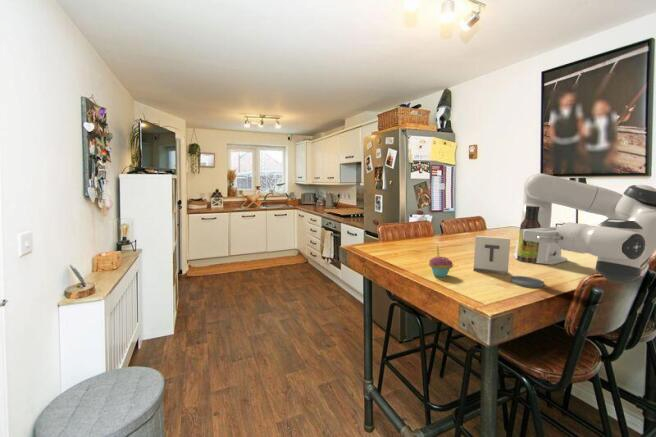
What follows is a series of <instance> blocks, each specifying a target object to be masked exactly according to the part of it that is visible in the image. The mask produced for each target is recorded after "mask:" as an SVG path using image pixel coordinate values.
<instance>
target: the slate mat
mask: <svg viewBox="0 0 656 437" xmlns="http://www.w3.org/2000/svg"><path fill="white" fill-rule="evenodd" d="M510 282H511V283H512V284H514V285H516V286H519V285H520V286H519V287H523V286H525V287H524V288H529V287H531V288H532V289H541V288H543V286H544V287H545V281H543V280H541V279H538V278H535V277H530V276H522V275H515V276H511V277H510ZM531 288H530V289H531Z"/></svg>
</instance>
